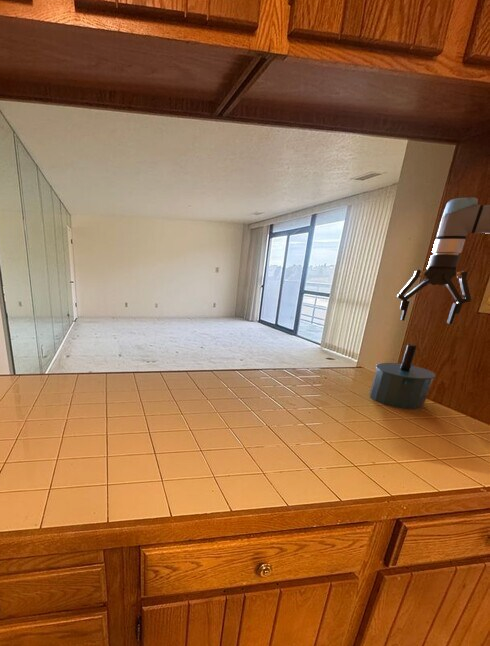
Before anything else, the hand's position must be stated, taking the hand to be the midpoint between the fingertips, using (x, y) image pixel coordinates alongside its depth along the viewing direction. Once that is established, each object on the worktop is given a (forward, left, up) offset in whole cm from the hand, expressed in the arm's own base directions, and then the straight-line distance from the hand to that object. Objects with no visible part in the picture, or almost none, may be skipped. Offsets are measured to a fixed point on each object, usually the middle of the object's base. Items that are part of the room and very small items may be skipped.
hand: (425, 321), depth 118 cm
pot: (+2, +2, -29) cm, 29 cm away
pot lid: (+2, +2, -18) cm, 18 cm away
